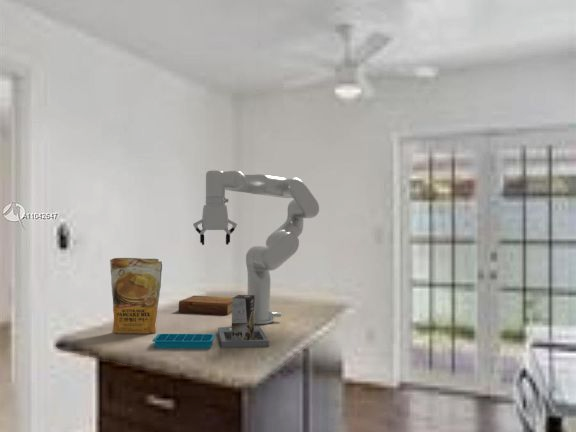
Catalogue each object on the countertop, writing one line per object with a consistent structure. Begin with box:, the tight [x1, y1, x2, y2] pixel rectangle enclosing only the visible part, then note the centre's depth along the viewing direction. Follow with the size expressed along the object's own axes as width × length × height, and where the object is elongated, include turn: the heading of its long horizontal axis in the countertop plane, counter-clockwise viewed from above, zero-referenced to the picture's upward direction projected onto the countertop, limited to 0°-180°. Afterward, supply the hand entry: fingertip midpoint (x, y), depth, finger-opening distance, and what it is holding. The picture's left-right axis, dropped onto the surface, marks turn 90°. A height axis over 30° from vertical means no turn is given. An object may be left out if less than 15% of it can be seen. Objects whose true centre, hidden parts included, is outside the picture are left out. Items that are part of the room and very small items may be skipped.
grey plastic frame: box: [217, 326, 270, 349], centre depth 211 cm, size 16×24×2 cm, turn 10°
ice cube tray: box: [151, 333, 216, 350], centre depth 201 cm, size 12×20×3 cm, turn 91°
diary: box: [178, 295, 233, 316], centre depth 270 cm, size 23×19×6 cm
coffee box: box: [230, 294, 255, 341], centre depth 208 cm, size 9×6×16 cm
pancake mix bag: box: [109, 257, 163, 335], centre depth 221 cm, size 7×19×28 cm, turn 91°
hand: (215, 244), depth 233 cm, fingers open, 9 cm apart
